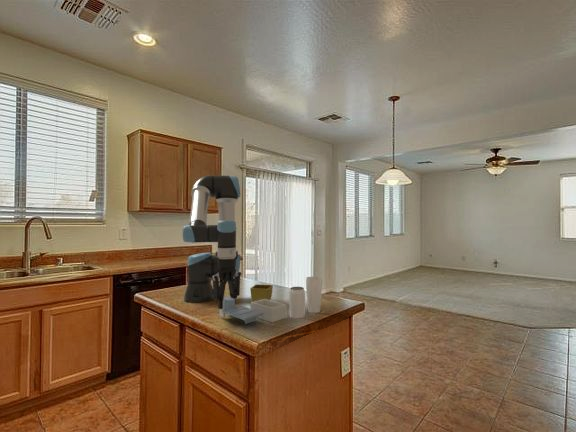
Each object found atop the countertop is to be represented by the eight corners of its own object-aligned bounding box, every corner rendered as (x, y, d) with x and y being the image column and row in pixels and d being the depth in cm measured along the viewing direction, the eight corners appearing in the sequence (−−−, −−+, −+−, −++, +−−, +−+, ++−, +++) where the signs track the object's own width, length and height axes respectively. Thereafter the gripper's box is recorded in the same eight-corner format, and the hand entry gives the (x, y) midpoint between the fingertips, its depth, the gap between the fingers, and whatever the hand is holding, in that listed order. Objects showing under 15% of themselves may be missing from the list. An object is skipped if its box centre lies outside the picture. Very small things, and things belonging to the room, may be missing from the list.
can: (288, 314, 133) (288, 286, 133) (303, 314, 133) (303, 286, 134) (290, 319, 126) (290, 289, 127) (306, 319, 127) (306, 289, 127)
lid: (214, 314, 126) (214, 299, 126) (232, 309, 133) (232, 295, 133) (244, 326, 113) (245, 309, 113) (263, 320, 120) (263, 304, 120)
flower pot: (268, 308, 142) (268, 288, 143) (249, 307, 144) (249, 288, 144) (273, 303, 151) (273, 285, 151) (255, 302, 153) (255, 284, 153)
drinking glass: (317, 315, 132) (317, 279, 132) (303, 313, 135) (303, 278, 136) (324, 311, 138) (324, 277, 138) (310, 309, 141) (310, 275, 141)
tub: (250, 316, 130) (250, 302, 130) (264, 312, 136) (264, 298, 136) (272, 323, 121) (272, 308, 121) (286, 319, 127) (286, 304, 127)
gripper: (214, 260, 120) (214, 322, 119) (248, 256, 132) (248, 312, 132) (203, 259, 125) (203, 318, 124) (237, 255, 137) (237, 309, 137)
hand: (226, 315), depth 128 cm, fingers open, 4 cm apart
